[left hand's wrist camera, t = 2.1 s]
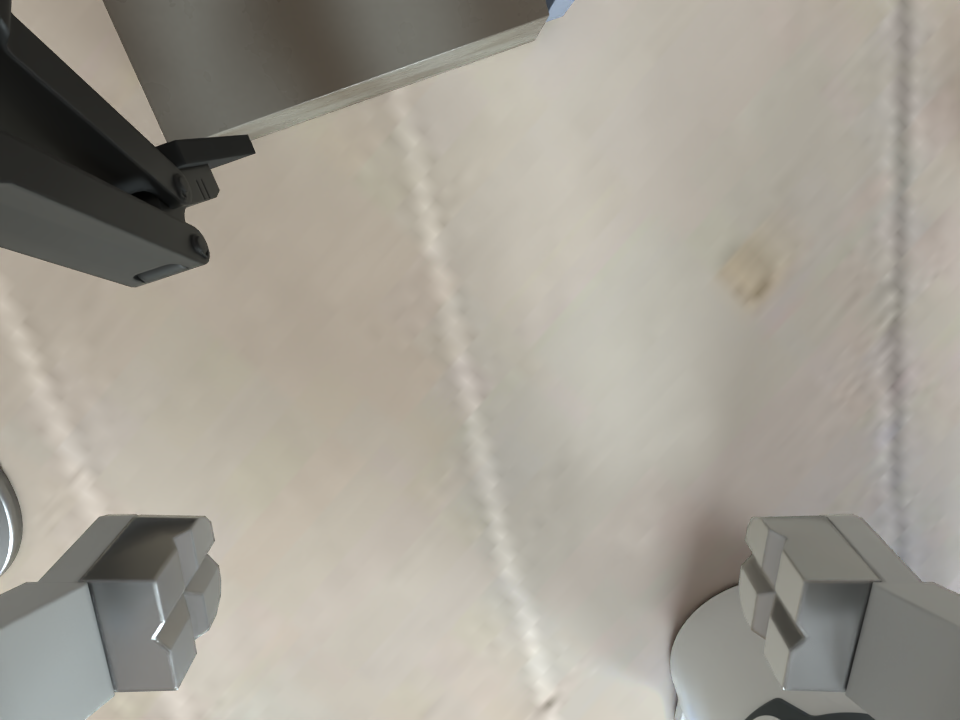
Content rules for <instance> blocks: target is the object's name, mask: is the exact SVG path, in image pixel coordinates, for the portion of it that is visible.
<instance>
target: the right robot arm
mask: <svg viewBox="0 0 960 720" xmlns="http://www.w3.org/2000/svg"><path fill="white" fill-rule="evenodd" d="M252 154H255V150H254V148H253V146H252V143H251V141H250V138H249V136H248V134H247V135H233V136H220V137H207V138H193V139H180V140H173V141H171V142H168V143H165V144H162V145H160V146H157V147H155V146H154V145H153V144H151V143H150V142H149V141H148V140H147V139H146V138H145V137H144V136H143V135H142V134H141V133H140V132H139V131H138V130H136V129H135V128H134V127H133V126H132V125H131V124H130V123H129V122H128V121H127V120H126V119H125V118H124V117H122V116H121V115H120V114H119V113H118V112H117V111H116V110H115V109H114V108H113V107H112V106H111V105H110V104H109V103H107V102H106V101H105V100H104V99H103V98H102V97H101V96H100V95H99V94H98V93H97V92H96V91H95V90H93V89H92V88H91V87H90V86H89V85H88V84H87V83H86V82H85V81H84V80H83V79H82V78H81V77H80V76H78V75H77V74H76V73H75V72H74V71H73V70H72V69H71V68H70V67H69V66H68V65H67V64H66V63H64V62H63V61H62V60H61V59H60V58H59V57H58V56H57V55H56V54H55V53H54V52H53V51H52V50H50V49H49V48H48V47H47V46H46V45H45V44H44V43H43V42H42V41H41V40H40V39H39V38H38V37H37V36H35V35H34V34H33V33H32V32H31V31H30V30H29V29H28V28H27V27H26V26H25V25H24V24H23V23H21V22H20V21H19V20H18V19H17V18H16V17H15V16H14V15H13V14H12V13H11V0H0V247H2V248H5V249H8V250H12V251H15V252H18V253H21V254H25V255H28V256H31V257H34V258H38V259H41V260H44V261H48V262H51V263H54V264H57V265H61V266H64V267H67V268H70V269H74V270H77V271H80V272H84V273H87V274H90V275H93V276H97V277H100V278H103V279H106V280H110V281H113V282H116V283H120V284H123V285H126V286H129V287H138V286H141V285H144V284H147V283H150V282H153V281H156V280H159V279H162V278H165V277H168V276H172V275H175V274H178V273H181V272H184V271H187V270H190V269H193V268H196V267H199V266H202V265H205V264H207V263H208V262H209V258H210V252H209V249H208V246H207V243H206V241H205V239H204V237H203V235H202V234H201V233H200V232H199V230H197V229H196V228H195V227H193V226H192V225H190V224H188V223H186V222H185V217H184V212H185V209H186V208H187V207H190V206H192V205H195V204H198V203H201V202H204V201H207V200H210V199H213V198H216V197H217V195H218V193H219V188H218V186H217V183H216V181H215V179H214V176H213V174H212V172H211V170H210V169H212V168H215V167H218V166H221V165H223V164H226V163H229V162H232V161H235V160H238V159H241V158H243V157H246V156H249V155H252ZM21 539H22V515H21V510H20V506H19V503H18V499H17V497H16V494H15V492H14V490H13V487H12V486H11V484H10V482H9V480H8V478H7V477H6V475H5V474H4V472H3V471H2V469H1V468H0V576H1V575H2V574H3V573H4V572H5V571H6V570H7V569H8V568H9V567H10V565H11V564H12V562H13V561H14V559H15V557H16V555H17V553H18V550H19V547H20V544H21Z"/></svg>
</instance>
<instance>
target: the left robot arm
mask: <svg viewBox="0 0 960 720" xmlns="http://www.w3.org/2000/svg"><path fill="white" fill-rule="evenodd" d="M214 541H215V538H214V534H213V529H212V524H211V521H210V520H209V519H208V518H207V517H206V516H181V515H136V514H122V515H105V516H101V517H99V518H98V519H97V520H96V521H95V522H94V523H93V524H92V525H91V526H90V527H89V528H88V529H87V530H86V531H85V532H84V533H83V534H82V536H81V537H80V538H79V539H78V540H77V541H76V542H75V543H74V544H73V545H72V546H71V547H70V548H69V549H68V550H67V551H66V552H65V554H64V555H63V556H62V557H61V558H60V559H59V560H58V561H57V562H56V563H55V564H54V565H53V566H52V567H51V568H50V569H49V570H48V572H47V573H46V574H45V575H44V576H43V577H42V578H41V579H40V580H39V581H38V582H26V583H24V584H22V585H20V586H17V587H15V588H13V589H11V590H9V591H7V592H5V593H3V594H1V595H0V720H85V719H87V718H88V717H89V716H90V715H91V714H93V713H94V712H95V711H96V710H98V709H99V708H100V707H101V706H102V705H104V704H105V703H106V702H107V701H109V700H110V699H111V698H112V697H114V695H115V693H114V692H138V691H173V690H178V688H179V686H180V684H181V683H182V681H183V679H184V677H185V675H186V673H187V671H188V669H189V667H190V665H191V664H192V662H193V660H194V658H195V656H196V654H197V651H196V646H195V639H197V638H198V637H200V636H201V635H203V634H204V633H205V632H207V631H208V630H209V629H210V627H211V625H212V623H213V621H214V619H215V617H216V614H217V610H218V606H219V601H220V597H221V576H220V569H219V565H218V564H217V563H216V562H215V561H214V560H213V559H212V558H211V557H210V556H209V555H208V554H207V553H208V551H209V550H210V548H211V546H212V545H213V543H214ZM745 541H746V543H747V545H748V546H749V548H750V550H751V551H752V553H753V554H752V555H751V556H750V557H749V558H748V559H747V560H746V561H745V562H744V563H743V564H742V565H741V570H740V578H739V585H737V586H735V587H732V588H730V589H728V590H725V591H723V592H721V593H719V594H718V595H716V596H714V597H713V598H711V599H710V600H708V601H707V602H705V603H704V604H703V605H702V606H700V607H699V608H698V609H697V610H696V611H695V612H694V613H693V614H692V615H691V616H690V617H689V618H688V619H687V621H686V622H685V623H684V625H683V626H682V628H681V629H680V631H679V633H678V635H677V636H676V639H675V641H674V644H673V647H672V651H671V657H670V671H671V677H672V681H673V684H674V686H675V689H676V692H677V697H678V703H677V707H676V712H675V720H960V595H959V594H957V593H955V592H953V591H951V590H949V589H947V588H945V587H943V586H940V585H938V584H936V583H934V582H922V581H921V580H920V579H919V578H918V577H917V576H916V575H915V574H914V573H913V571H912V570H911V569H910V568H909V567H908V566H907V565H906V564H905V563H904V562H903V561H902V560H901V559H900V558H899V557H898V556H897V555H896V553H895V552H894V551H893V550H892V549H891V548H890V547H889V546H888V545H887V544H886V543H885V542H884V541H883V540H882V539H881V538H880V537H879V535H878V534H877V533H876V532H875V531H874V530H873V529H872V528H871V527H870V526H869V525H868V524H867V523H866V522H865V521H864V520H863V518H861V517H859V516H856V515H854V514H839V515H819V516H778V517H752V518H751V520H750V522H749V524H748V527H747V533H746V538H745Z"/></svg>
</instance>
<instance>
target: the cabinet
mask: <svg viewBox="0 0 960 720" xmlns="http://www.w3.org/2000/svg"><path fill="white" fill-rule="evenodd" d="M103 2H104V4H105V7H106V9H107V11H108V13H109V15H110V18H111V20H112V22H113V24H114V26H115V29H116V31H117V33H118V35H119V37H120V40H121V42H122V44H123V46H124V48H125V51H126V53H127V55H128V57H129V59H130V62H131V64H132V66H133V68H134V71H135V73H136V75H137V77H138V79H139V82H140V84H141V86H142V88H143V90H144V93H145V95H146V97H147V99H148V101H149V104H150V106H151V108H152V110H153V112H154V115H155V117H156V119H157V121H158V123H159V126H160V128H161V130H162V132H163V135H164V137H165V139H166V141H167V143H168V142H171V141H173V140H180V139H193V138H207V137H220V136H233V135H247V134H248V136H249V138H250V140H253V139H256V138H259V137H262V136H265V135H268V134H270V133H273V132H276V131H279V130H282V129H285V128H287V127H290V126H293V125H296V124H299V123H302V122H304V121H307V120H310V119H313V118H316V117H319V116H321V115H324V114H327V113H330V112H333V111H336V110H339V109H341V108H344V107H347V106H350V105H353V104H356V103H358V102H361V101H364V100H367V99H370V98H373V97H375V96H378V95H381V94H384V93H387V92H390V91H392V90H395V89H398V88H401V87H404V86H407V85H409V84H412V83H415V82H418V81H421V80H424V79H427V78H429V77H432V76H435V75H438V74H441V73H444V72H446V71H449V70H452V69H455V68H458V67H461V66H463V65H466V64H469V63H472V62H475V61H478V60H480V59H483V58H486V57H489V56H492V55H495V54H498V53H500V52H503V51H506V50H509V49H512V48H515V47H517V46H520V45H523V44H526V43H529V42H532V41H534V40H535V39H536V37H537V35H538V34H539V32H540V30H541V29H542V27H543V25H544V24H545V22H546V20H547V19H548V17H549V11H548V7H547V3H546V0H103Z"/></svg>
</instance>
